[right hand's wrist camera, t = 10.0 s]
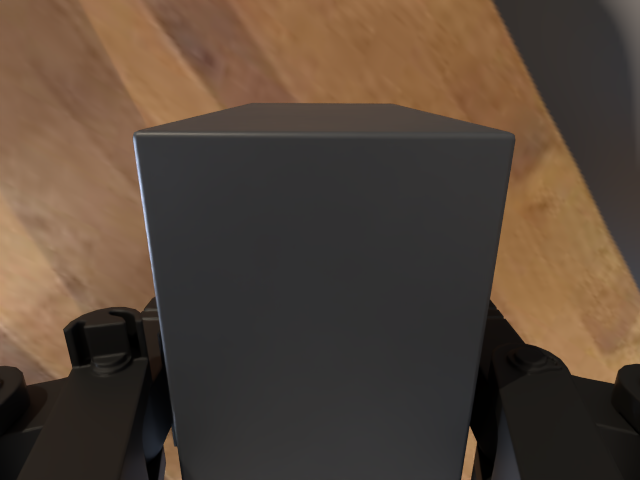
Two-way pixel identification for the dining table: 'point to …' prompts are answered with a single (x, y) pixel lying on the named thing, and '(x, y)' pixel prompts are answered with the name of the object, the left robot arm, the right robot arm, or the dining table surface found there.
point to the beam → (322, 286)
